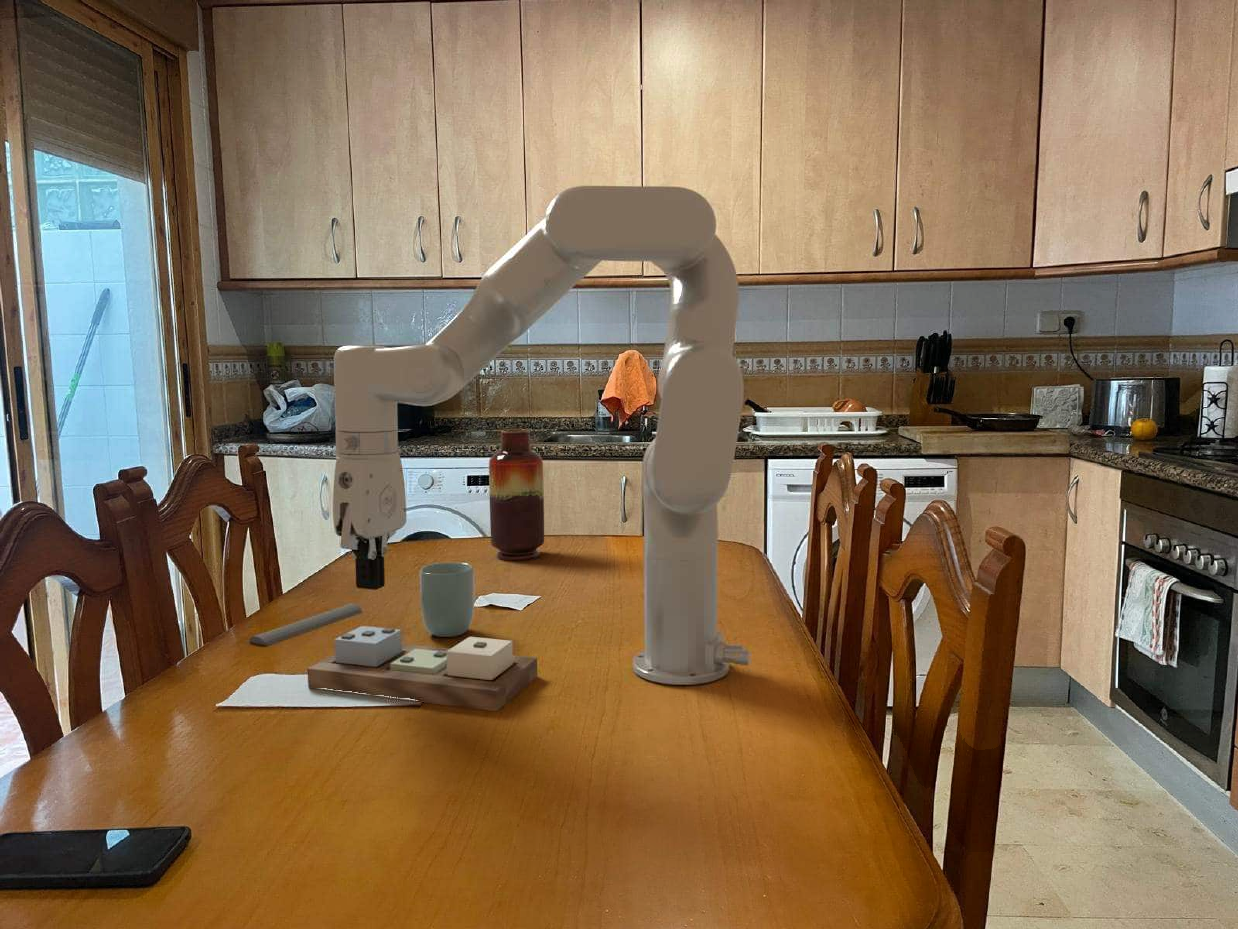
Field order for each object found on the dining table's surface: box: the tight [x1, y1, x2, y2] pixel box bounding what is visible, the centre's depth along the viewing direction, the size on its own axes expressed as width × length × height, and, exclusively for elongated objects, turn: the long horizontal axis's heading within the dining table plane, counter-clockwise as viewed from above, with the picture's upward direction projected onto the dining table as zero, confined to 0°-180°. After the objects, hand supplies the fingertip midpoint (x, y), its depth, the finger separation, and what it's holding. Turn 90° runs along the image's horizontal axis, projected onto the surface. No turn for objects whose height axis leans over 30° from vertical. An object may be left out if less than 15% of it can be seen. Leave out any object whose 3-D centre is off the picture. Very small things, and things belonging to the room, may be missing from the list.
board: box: [306, 643, 538, 712], centre depth 114 cm, size 26×12×2 cm, turn 72°
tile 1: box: [447, 636, 514, 681], centre depth 111 cm, size 6×6×3 cm
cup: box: [419, 561, 475, 638], centre depth 134 cm, size 8×8×10 cm
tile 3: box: [334, 625, 403, 668], centre depth 116 cm, size 6×6×3 cm
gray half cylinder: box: [248, 603, 363, 647], centre depth 138 cm, size 4×20×2 cm, turn 152°
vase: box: [488, 428, 545, 562], centre depth 185 cm, size 11×11×26 cm
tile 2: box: [390, 649, 447, 675], centre depth 114 cm, size 6×6×3 cm
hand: (370, 587), depth 115 cm, fingers closed
